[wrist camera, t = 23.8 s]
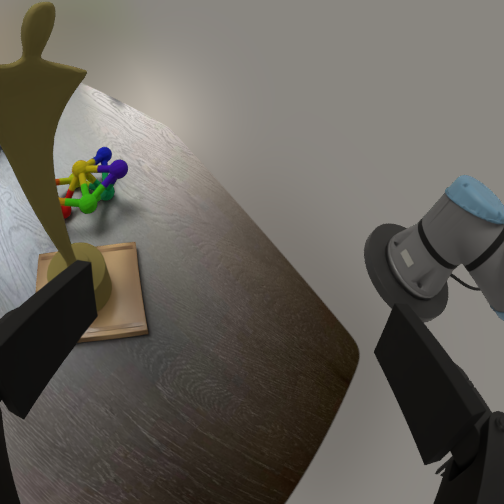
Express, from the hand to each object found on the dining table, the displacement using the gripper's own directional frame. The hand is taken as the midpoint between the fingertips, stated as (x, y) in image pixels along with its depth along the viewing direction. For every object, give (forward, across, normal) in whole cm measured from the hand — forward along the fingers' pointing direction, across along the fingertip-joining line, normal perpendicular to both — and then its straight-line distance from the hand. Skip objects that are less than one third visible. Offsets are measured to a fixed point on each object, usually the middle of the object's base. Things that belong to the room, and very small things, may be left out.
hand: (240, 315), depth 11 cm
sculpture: (+16, -18, -11) cm, 26 cm away
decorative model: (+28, -25, -4) cm, 38 cm away
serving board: (+17, -18, -12) cm, 27 cm away
